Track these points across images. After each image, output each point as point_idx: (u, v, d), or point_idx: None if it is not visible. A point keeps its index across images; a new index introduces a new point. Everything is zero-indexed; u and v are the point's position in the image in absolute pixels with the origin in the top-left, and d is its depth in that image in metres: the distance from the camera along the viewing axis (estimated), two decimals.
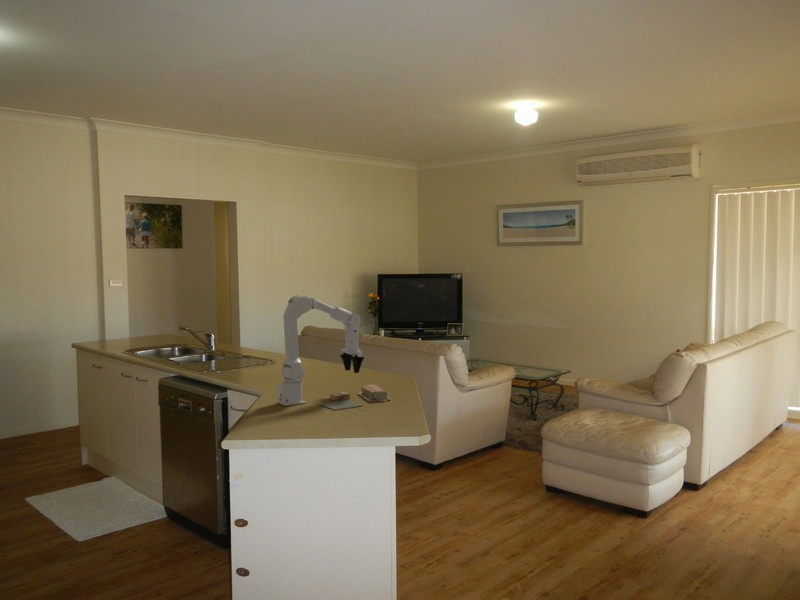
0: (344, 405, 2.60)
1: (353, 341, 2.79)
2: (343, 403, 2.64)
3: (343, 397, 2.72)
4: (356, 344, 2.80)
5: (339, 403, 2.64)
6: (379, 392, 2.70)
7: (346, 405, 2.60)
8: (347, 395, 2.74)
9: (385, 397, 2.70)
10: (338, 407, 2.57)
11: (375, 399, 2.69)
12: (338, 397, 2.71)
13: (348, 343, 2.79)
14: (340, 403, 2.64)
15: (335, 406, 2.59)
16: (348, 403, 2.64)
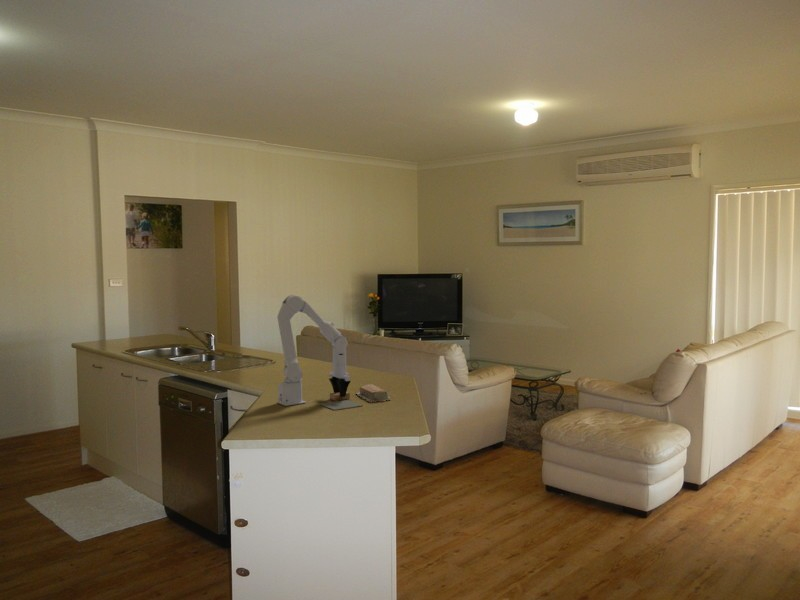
0: (344, 405, 2.60)
1: (341, 364, 2.71)
2: (343, 403, 2.64)
3: None
4: (344, 367, 2.71)
5: (339, 403, 2.64)
6: (380, 392, 2.70)
7: (346, 405, 2.60)
8: (347, 394, 2.74)
9: (385, 397, 2.71)
10: (338, 407, 2.57)
11: (376, 399, 2.69)
12: (338, 396, 2.71)
13: (335, 366, 2.71)
14: (340, 403, 2.64)
15: (335, 406, 2.59)
16: (348, 403, 2.64)
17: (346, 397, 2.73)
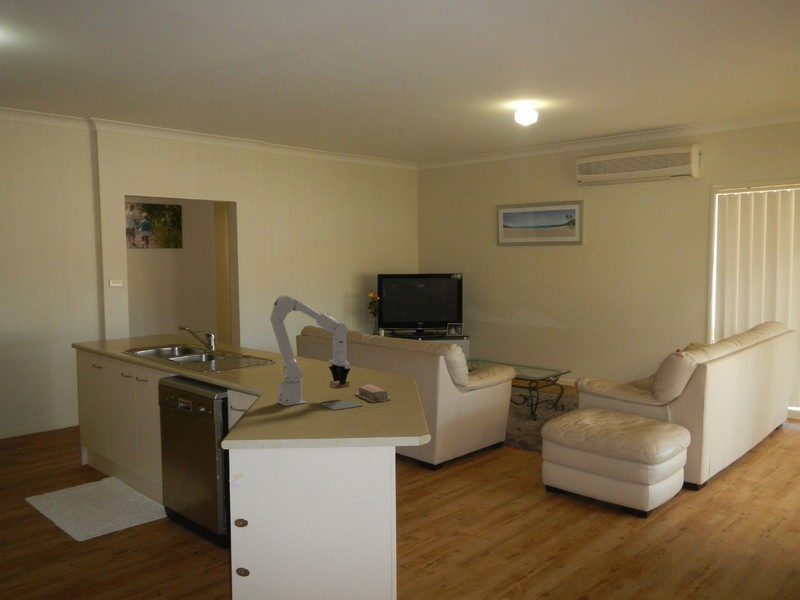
0: (344, 405, 2.60)
1: (340, 352, 2.70)
2: (343, 403, 2.64)
3: (343, 384, 2.72)
4: (344, 355, 2.71)
5: (339, 403, 2.64)
6: (380, 392, 2.70)
7: (346, 405, 2.60)
8: (347, 382, 2.73)
9: (386, 397, 2.71)
10: (338, 407, 2.57)
11: (376, 399, 2.69)
12: (338, 384, 2.71)
13: (335, 354, 2.70)
14: (340, 403, 2.64)
15: (335, 406, 2.59)
16: (348, 403, 2.64)
17: (346, 385, 2.73)
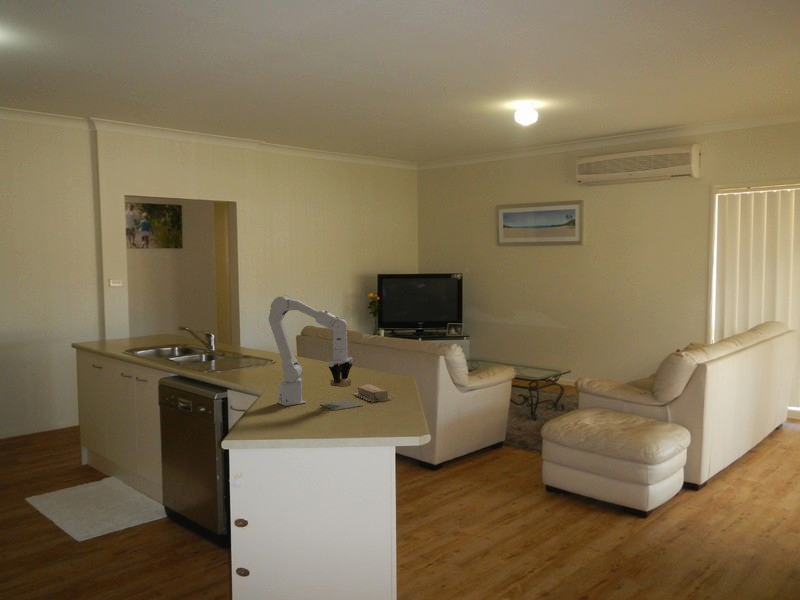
0: (344, 405, 2.60)
1: (334, 349, 2.63)
2: (343, 403, 2.64)
3: (338, 383, 2.63)
4: (337, 353, 2.62)
5: (339, 403, 2.64)
6: (380, 392, 2.70)
7: (346, 405, 2.60)
8: (342, 382, 2.62)
9: (386, 397, 2.71)
10: (338, 407, 2.57)
11: (377, 399, 2.69)
12: (333, 381, 2.64)
13: (333, 351, 2.65)
14: (340, 403, 2.64)
15: (335, 406, 2.59)
16: (348, 403, 2.64)
17: (341, 384, 2.62)
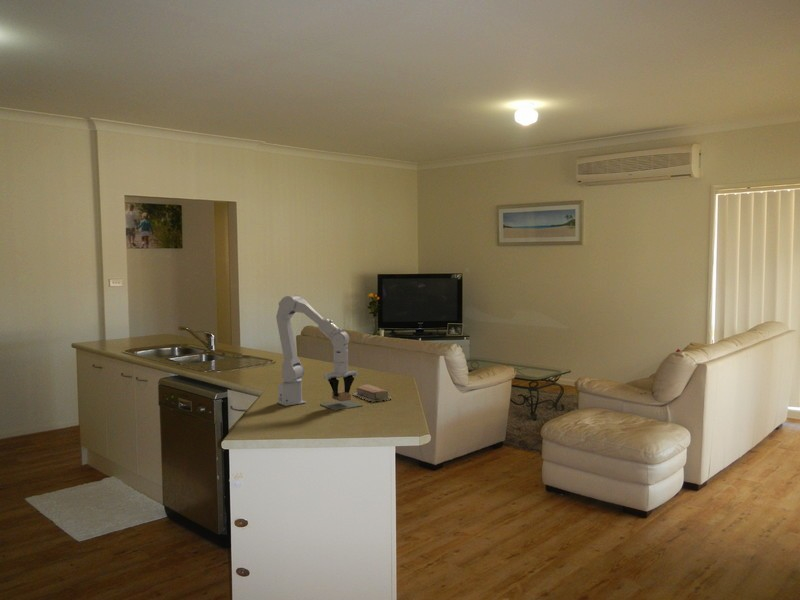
0: (344, 405, 2.60)
1: None
2: (343, 403, 2.64)
3: None
4: (335, 366, 2.59)
5: (339, 403, 2.64)
6: (381, 392, 2.70)
7: (346, 405, 2.60)
8: (339, 395, 2.58)
9: (386, 397, 2.71)
10: (338, 407, 2.57)
11: (377, 399, 2.69)
12: None
13: None
14: (340, 403, 2.64)
15: (335, 406, 2.59)
16: (348, 403, 2.64)
17: (338, 398, 2.59)
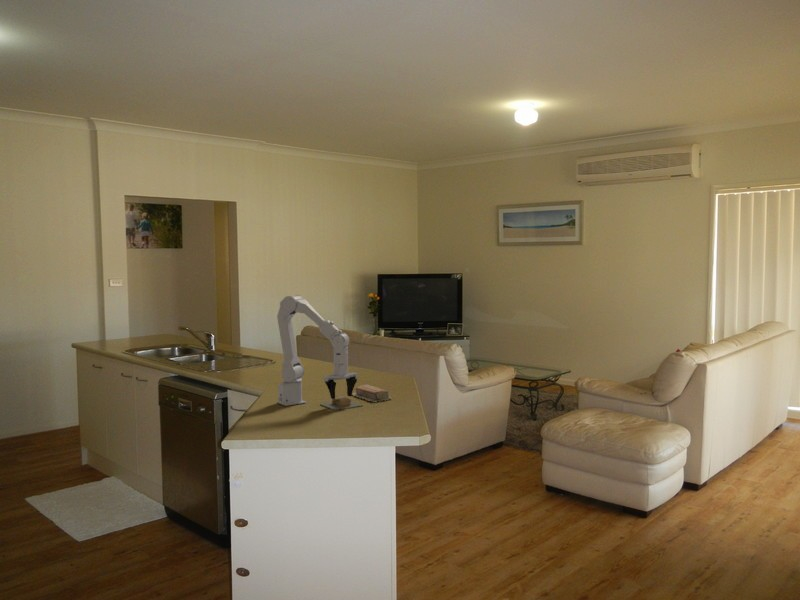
0: None
1: (334, 364, 2.60)
2: None
3: (336, 402, 2.60)
4: (335, 368, 2.59)
5: None
6: (381, 392, 2.70)
7: None
8: (339, 401, 2.59)
9: (387, 396, 2.72)
10: (338, 407, 2.57)
11: (378, 399, 2.69)
12: (334, 400, 2.62)
13: None
14: None
15: (335, 406, 2.59)
16: None
17: (338, 404, 2.59)
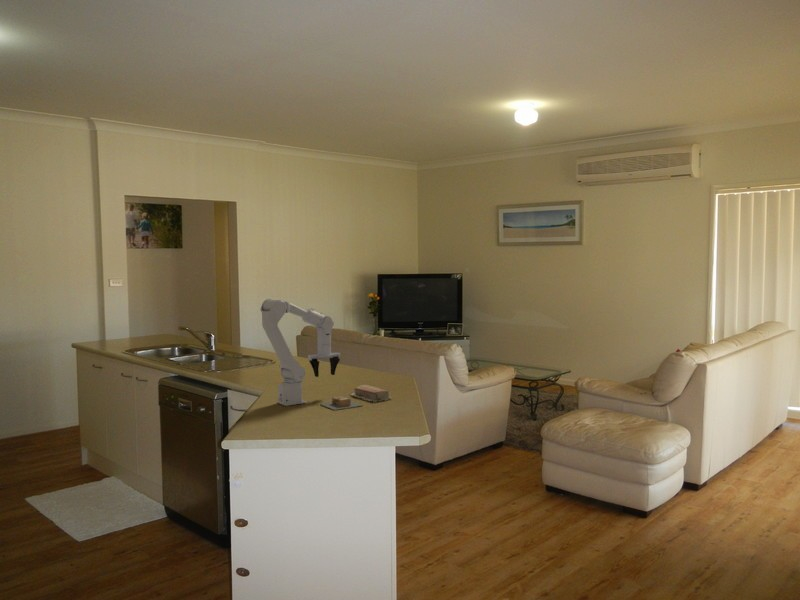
0: None
1: None
2: None
3: (336, 402, 2.60)
4: (319, 348, 2.75)
5: None
6: (382, 392, 2.70)
7: None
8: (339, 401, 2.59)
9: (387, 396, 2.72)
10: (338, 407, 2.57)
11: (379, 399, 2.69)
12: (334, 400, 2.62)
13: None
14: None
15: (335, 406, 2.59)
16: None
17: (338, 404, 2.59)
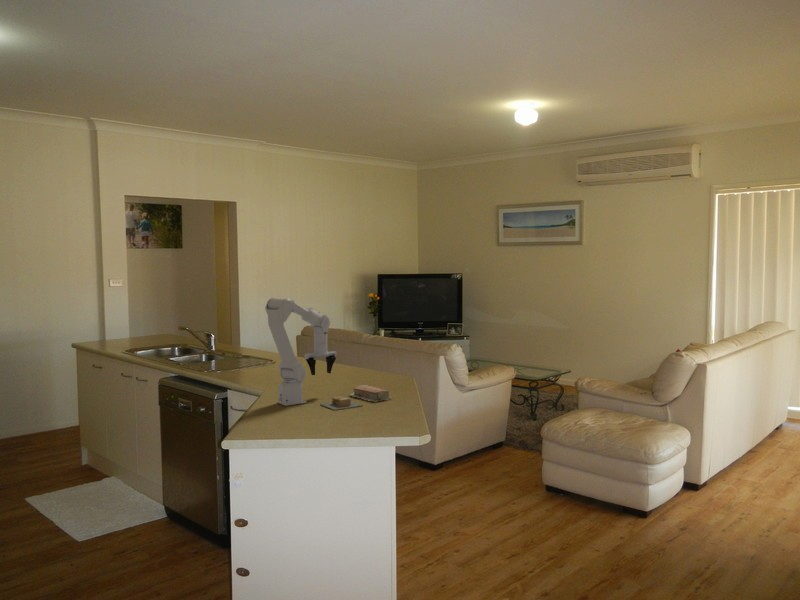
0: None
1: (314, 343, 2.79)
2: None
3: (336, 402, 2.60)
4: (315, 346, 2.78)
5: None
6: (382, 392, 2.71)
7: None
8: (339, 401, 2.59)
9: (387, 396, 2.72)
10: (338, 407, 2.57)
11: (379, 399, 2.69)
12: (334, 400, 2.62)
13: None
14: None
15: (335, 406, 2.59)
16: None
17: (338, 404, 2.59)
